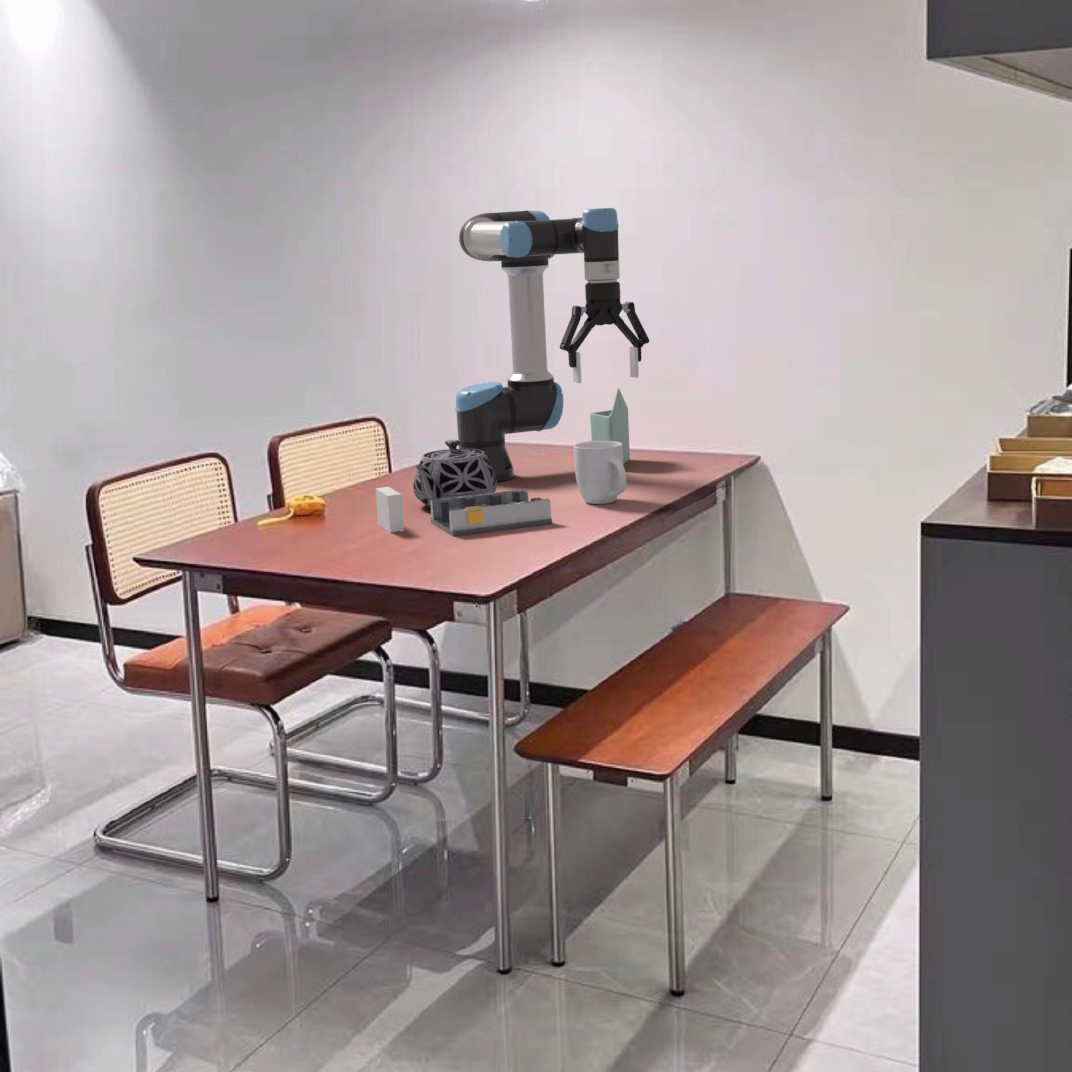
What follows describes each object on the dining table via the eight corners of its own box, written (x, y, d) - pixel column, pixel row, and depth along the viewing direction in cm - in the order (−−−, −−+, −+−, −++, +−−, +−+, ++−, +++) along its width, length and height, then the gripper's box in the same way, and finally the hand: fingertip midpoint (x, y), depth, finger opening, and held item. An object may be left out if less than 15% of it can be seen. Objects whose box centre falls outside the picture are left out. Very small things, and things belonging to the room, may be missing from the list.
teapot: (382, 517, 328) (377, 450, 325) (451, 491, 354) (448, 429, 351) (456, 521, 319) (452, 453, 316) (521, 494, 346) (518, 431, 343)
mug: (644, 503, 328) (643, 445, 326) (605, 511, 323) (602, 452, 320) (605, 494, 341) (603, 438, 338) (566, 501, 335) (563, 444, 332)
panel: (378, 524, 321) (375, 488, 319) (391, 522, 322) (388, 486, 320) (390, 532, 312) (387, 495, 310) (403, 531, 313) (401, 494, 311)
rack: (431, 522, 320) (429, 498, 319) (526, 510, 327) (524, 487, 326) (453, 536, 305) (451, 511, 304) (552, 523, 312) (551, 499, 311)
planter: (601, 459, 388) (598, 384, 384) (630, 459, 385) (627, 384, 381) (583, 470, 373) (580, 393, 368) (613, 471, 370) (610, 392, 366)
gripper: (554, 285, 310) (559, 386, 315) (662, 278, 319) (665, 376, 323) (542, 284, 317) (546, 383, 322) (647, 277, 325) (650, 373, 330)
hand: (606, 379), depth 322 cm, fingers open, 13 cm apart
